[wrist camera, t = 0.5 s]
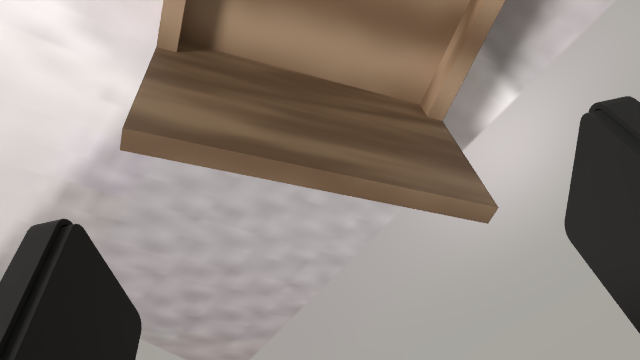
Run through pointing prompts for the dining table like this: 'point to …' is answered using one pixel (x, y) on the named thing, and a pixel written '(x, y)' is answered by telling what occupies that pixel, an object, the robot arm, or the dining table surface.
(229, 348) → the dining table surface
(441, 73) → the low wooden shelf
